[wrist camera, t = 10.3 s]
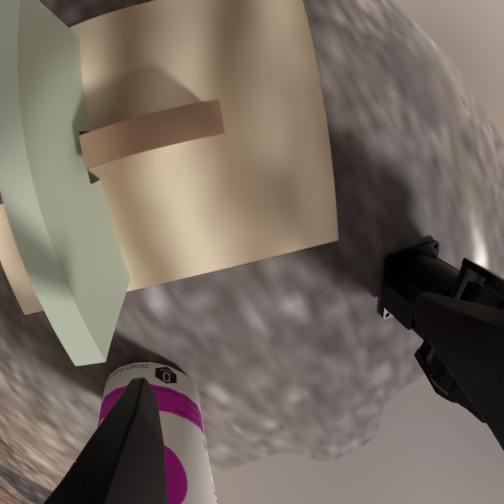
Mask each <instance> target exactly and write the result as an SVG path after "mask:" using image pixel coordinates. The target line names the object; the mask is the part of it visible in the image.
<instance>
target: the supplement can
mask: <svg viewBox="0 0 504 504" xmlns="http://www.w3.org/2000/svg"><path fill="white" fill-rule="evenodd" d="M139 377H145V378H146V379H147V380H148V382H149V384H150V386H151V387H152V389H153V391H154V393H155V394H156V397H157V400H158V407H159V415H160V422H161V428H162V434H163V441H164V453H165V471H166V485H167V496H168V504H218V502H217V498H216V493H215V488H214V483H213V478H212V473H211V468H210V463H209V457H208V452H207V446H206V440H205V434H204V428H203V421H202V415H201V408H200V401H199V394H198V392H197V389H196V387H195V384H194V383H193V382H192V381H191V380H190V379H189V378H188V377H187V376H186V375H185V374H184V373H182V372H180V371H178V370H176V369H174V368H172V367H170V366H167V365H163V364H158V363H154V362H137V363H132V364H128V365H125V366H122V367H119V368H118V369H116V370H115V371H114V372H113V373H111V374H110V375H109V377H108V379H107V382H106V384H105V388H104V394H103V399H102V405H101V411H100V417H99V423H98V427H99V425H100V424H101V422H102V421H103V419H104V418H105V416H106V415H107V414H108V412H109V411H110V409H111V408H112V406H113V405H114V403H115V402H116V401H117V399H118V398H119V396H120V395H121V393H122V392H123V391H124V389H125V388H126V386H127V385H128V384H129V382H130V381H131V380H132V379H134V378H139Z"/></svg>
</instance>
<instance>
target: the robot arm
mask: <svg viewBox="0 0 504 504" xmlns="http://www.w3.org/2000/svg"><path fill="white" fill-rule="evenodd" d="M438 251H439V242H437V241H435V240H432V241H429V242H426V243H423V244H420V245H417V246H414V247H411V248H407V249H404V250H401V251H398V252H395V253H392V254H389V255H387V256H386V258H385V263H384V282H383V295H382V310H381V316H382V318H383V319H385V320H386V319H389V318H392V317H395V318H396V319H397V320H398V321H399V322H400V323H401V324H402V325H403V326H404V327H405V328H407V329H408V330H410V329H412V330H413V331H414V332H416V333H417V334H418V335H419V336H420V337H421V338H422V339H423V340H424V341H423V343H422V345H421V346H420V348H419V349H417V351H416V353H415V354H414V356H415V357H416V359H417V361H418V363H419V364H420V366H421V368H422V370H423V371H424V373H425V375H426V376H427V378H428V380H429V382H430V383H431V385H432V387H433V389H434V390H435V392H436V393H437V394H439V395H440V396H441V397H443V398H445V399H447V400H449V401H451V402H454V403H458V404H460V405H461V406H463V407H465V408H466V409H467V410H468V411H470V412H471V413H472V414H473V415H474V416H475V417H477V418H478V419H479V420H480V421H481V422H483V423H487V425H488V426H489V428H490V429H491V431H492V432H493V434H494V436H495V437H496V439H497V441H498V442H499V444H500V445H501V447H502V449H503V450H504V279H503V278H501V277H500V276H498V275H496V274H495V273H493V272H491V271H489V270H488V269H486V268H484V267H482V266H480V265H478V264H476V263H474V262H472V261H470V260H468V259H466V258H464V259H463V261H462V267H461V269H460V270H458V269H456V268H455V267H453V266H451V265H450V264H448V263H446V262H444V261H443V260H441V259H439V258H438ZM390 260H391V261H390ZM43 504H168V496H167V485H166V471H165V453H164V441H163V434H162V428H161V422H160V415H159V407H158V400H157V397H156V394H155V393H154V391H153V389H152V387H151V386H150V384H149V382H148V380H147V379H146V378H145V377H139V378H134V379H132V380H131V381H130V382H129V384H128V385H127V386H126V388H125V389H124V391H123V392H122V393H121V395H120V396H119V398H118V399H117V401H116V402H115V403H114V405H113V406H112V408H111V409H110V411H109V412H108V414H107V415H106V416H105V418H104V419H103V421H102V422H101V424H100V425H99V427H98V428H97V430H96V431H95V432H94V434H93V435H92V437H91V438H90V440H89V441H88V443H87V444H86V446H85V447H84V449H83V450H82V452H81V453H80V455H79V456H78V458H77V459H76V462H74V463H73V465H72V466H71V468H70V469H69V471H68V472H67V474H66V475H65V477H64V478H63V479H62V481H61V482H60V484H59V485H58V486H57V487H56V489H55V490H54V491H53V492H52V494H51V495H50V496H49V497H48V499H47V500H46V501H45V502H44V503H43Z"/></svg>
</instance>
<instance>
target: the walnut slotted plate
mask: <svg viewBox="0 0 504 504" xmlns="http://www.w3.org/2000/svg"><path fill="white" fill-rule="evenodd" d="M223 133H225V129H224V124H223V118H222V113H221V107H220V101H219V99H215V100H209V101H204V102H198V103H193V104H188V105H184V106H179V107H175V108H170V109H166V110H162V111H158V112H154V113H150V114H146V115H142V116H139V117H135V118H132V119H128V120H125V121H122V122H118V123H115V124H112V125H109V126H106V127H103V128H100V129H97V130H94V131H91V132H88V133H85V134H83V135H80V136H79V138H80V144H81V149H82V154H83V158H84V163H85V167H86V169H90V168H93V167H96V166H99V165H102V164H105V163H108V162H112V161H115V160H118V159H121V158H125V157H128V156H132V155H135V154H139V153H142V152H146V151H150V150H154V149H158V148H161V147H166V146H170V145H174V144H178V143H182V142H187V141H191V140H196V139H201V138H206V137H211V136H216V135H219V134H223ZM1 204H3V200H2V196H1V192H0V205H1Z"/></svg>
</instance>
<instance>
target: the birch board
mask: <svg viewBox="0 0 504 504" xmlns="http://www.w3.org/2000/svg"><path fill="white" fill-rule="evenodd" d="M69 29H70V30H71V31H72V32H74V33H75V34H76V35H77V36H78V37H79V44H80V57H81V68H82V78H83V86H84V94H85V101H86V108H87V114H88V120H89V126H90V131H94V130H97V129H100V128H103V127H106V126H109V125H112V124H115V123H118V122H122V121H125V120H128V119H132V118H135V117H139V116H142V115H146V114H150V113H154V112H158V111H162V110H166V109H170V108H175V107H179V106H184V105H188V104H193V103H198V102H204V101H209V100H215V99H219V101H220V107H221V113H222V118H223V124H224V129H225V133H223V134H219V135H216V136H211V137H206V138H201V139H196V140H191V141H187V142H182V143H178V144H174V145H170V146H166V147H161V148H158V149H154V150H150V151H146V152H142V153H139V154H135V155H132V156H128V157H125V158H121V159H118V160H115V161H112V162H108V163H105V164H102V165H99V166H96V167H93V168H90V169H87V171H88V175H89V180H90V183H93V182H96V181H99V180H101V182H102V187H103V190H104V194H105V198H106V202H107V206H108V209H109V213H110V216H111V220H112V223H113V226H114V230H115V233H116V236H117V239H118V243H119V246H120V249H121V252H122V255H123V258H124V261H125V264H126V267H127V269H128V272H129V275H130V278H131V279H130V282H129V285H128V288H127V291H126V292H128V291H132V290H136V289H141V288H145V287H149V286H153V285H158V284H162V283H166V282H170V281H174V280H179V279H183V278H187V277H191V276H195V275H200V274H204V273H208V272H212V271H216V270H220V269H224V268H229V267H233V266H237V265H241V264H245V263H249V262H253V261H257V260H261V259H265V258H269V257H273V256H278V255H282V254H286V253H290V252H294V251H298V250H302V249H306V248H310V247H314V246H318V245H322V244H326V243H330V242H334V241H338V240H339V239H338V222H337V208H336V196H335V185H334V175H333V165H332V156H331V148H330V140H329V132H328V125H327V118H326V112H325V105H324V99H323V93H322V87H321V81H320V76H319V71H318V65H317V60H316V55H315V51H314V46H313V41H312V37H311V32H310V28H309V24H308V20H307V15H306V11H305V7H304V4H303V0H154V1H150V2H146V3H142V4H138V5H134V6H130V7H126V8H123V9H120V10H116V11H113V12H110V13H107V14H104V15H101V16H98V17H95V18H92V19H89V20H87V21H84V22H82V23H79V24H77V25H74V26H72V27H69ZM0 261H1V264H2V266H3V269H4V271H5V274H6V276H7V278H8V281H9V283H10V285H11V288H12V290H13V292H14V294H15V296H16V298H17V301H18V303H19V305H20V307H21V309H22V311H23V313H24V315H27V314H31V313H36V312H40V311H44V309H43V307H42V305H41V303H40V301H39V299H38V297H37V295H36V293H35V290H34V288H33V286H32V284H31V281H30V279H29V277H28V274H27V272H26V269H25V267H24V264H23V262H22V259H21V257H20V254H19V251H18V248H17V246H16V243H15V240H14V237H13V234H12V231H11V228H10V225H9V221H8V218H7V215H6V211H5V208H4V204H1V205H0Z"/></svg>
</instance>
